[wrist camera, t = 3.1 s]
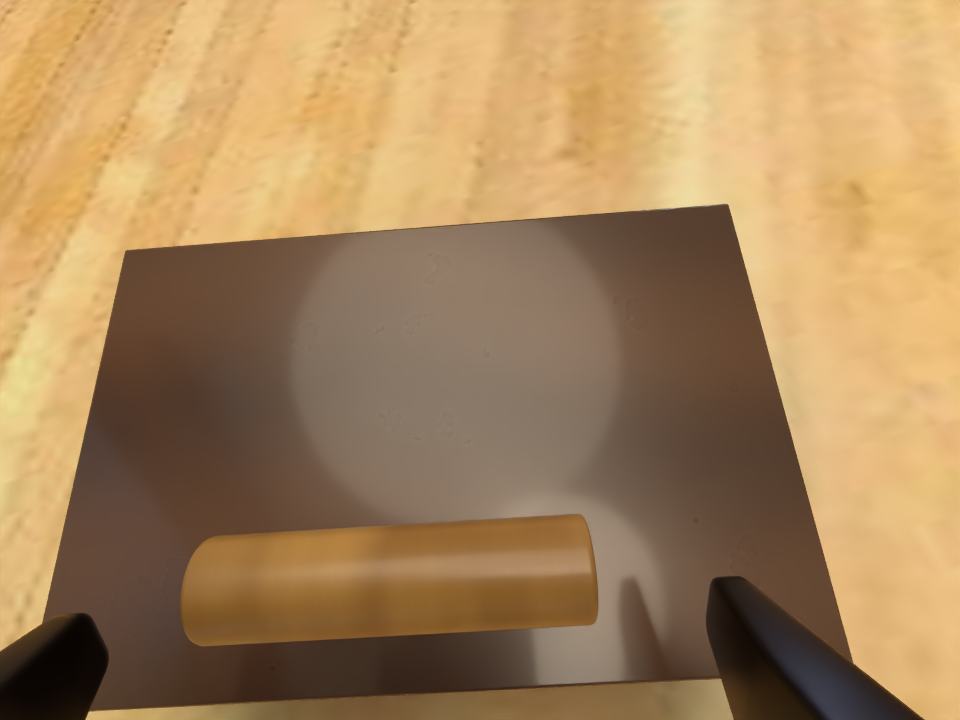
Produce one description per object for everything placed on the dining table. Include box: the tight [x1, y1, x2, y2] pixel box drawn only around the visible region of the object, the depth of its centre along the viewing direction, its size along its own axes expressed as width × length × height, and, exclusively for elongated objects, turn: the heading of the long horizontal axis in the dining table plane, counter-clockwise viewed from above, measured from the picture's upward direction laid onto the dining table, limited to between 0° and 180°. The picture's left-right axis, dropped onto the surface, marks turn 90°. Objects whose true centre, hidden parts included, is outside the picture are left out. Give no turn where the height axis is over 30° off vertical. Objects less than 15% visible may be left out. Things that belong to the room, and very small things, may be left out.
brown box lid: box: [42, 204, 853, 711], centre depth 11 cm, size 10×16×5 cm
